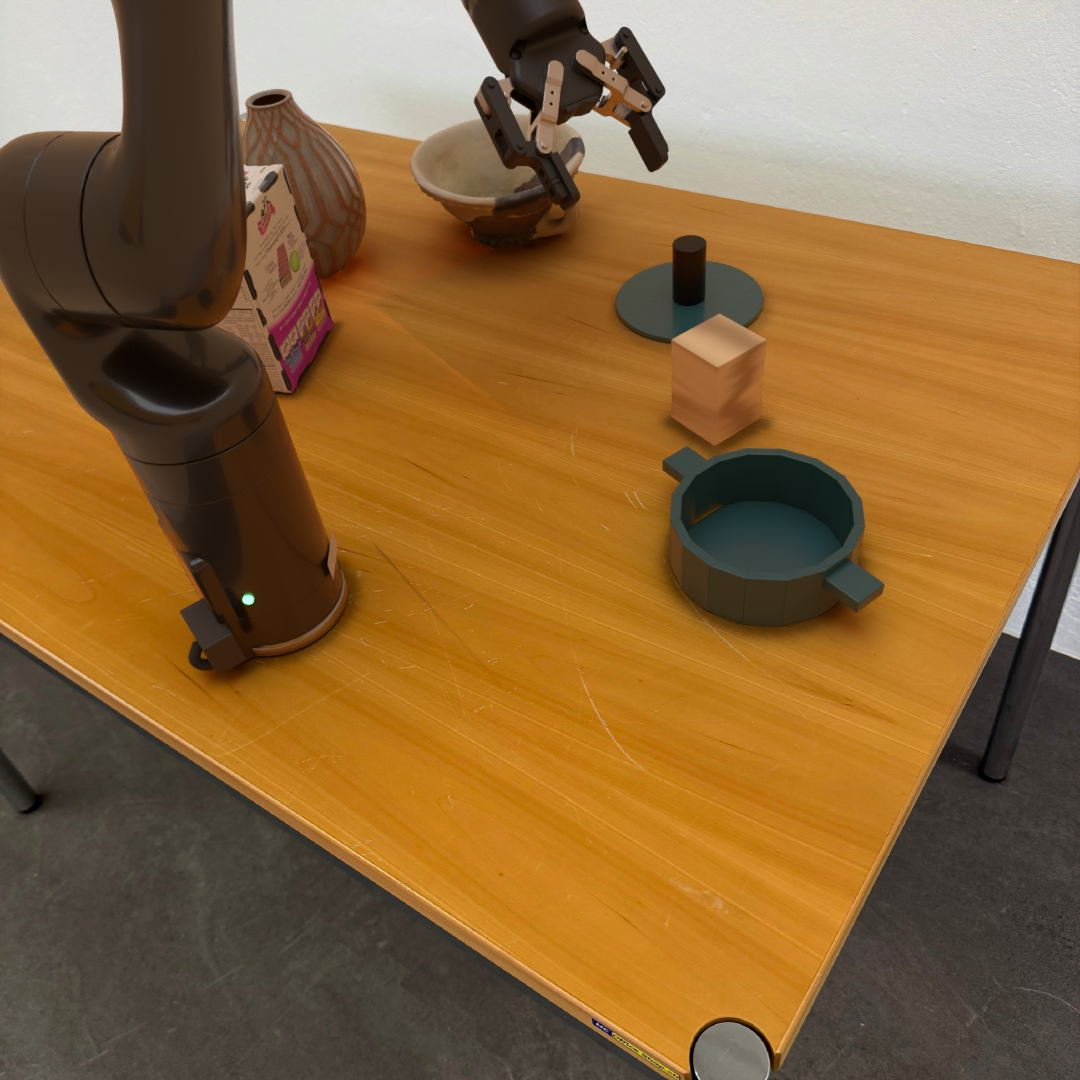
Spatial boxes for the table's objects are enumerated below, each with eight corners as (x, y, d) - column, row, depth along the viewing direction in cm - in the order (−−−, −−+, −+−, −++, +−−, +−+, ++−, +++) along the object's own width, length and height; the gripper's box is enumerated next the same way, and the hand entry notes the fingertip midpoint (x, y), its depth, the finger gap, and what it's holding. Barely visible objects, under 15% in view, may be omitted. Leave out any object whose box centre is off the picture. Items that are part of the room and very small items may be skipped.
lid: (683, 368, 82) (684, 302, 77) (587, 308, 90) (582, 244, 86) (793, 307, 87) (800, 241, 82) (692, 255, 95) (693, 192, 90)
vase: (344, 303, 95) (295, 129, 83) (234, 292, 99) (170, 124, 87) (398, 238, 104) (360, 71, 91) (294, 231, 107) (244, 69, 95)
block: (714, 451, 74) (717, 367, 68) (671, 422, 77) (671, 339, 71) (759, 423, 76) (767, 339, 70) (716, 396, 79) (719, 313, 73)
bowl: (393, 260, 100) (372, 173, 94) (487, 186, 110) (474, 102, 104) (533, 294, 93) (521, 202, 86) (620, 211, 103) (616, 122, 96)
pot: (793, 688, 58) (801, 639, 55) (610, 534, 69) (607, 484, 66) (926, 588, 63) (941, 536, 59) (734, 457, 73) (737, 407, 70)
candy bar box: (288, 324, 94) (233, 162, 82) (335, 326, 93) (286, 161, 81) (242, 394, 86) (174, 226, 74) (292, 396, 85) (232, 226, 73)
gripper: (445, -18, 64) (560, 196, 66) (608, -71, 69) (712, 129, 71) (420, 47, 71) (525, 240, 73) (570, -5, 76) (665, 176, 78)
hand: (617, 185), depth 72 cm, fingers open, 8 cm apart
